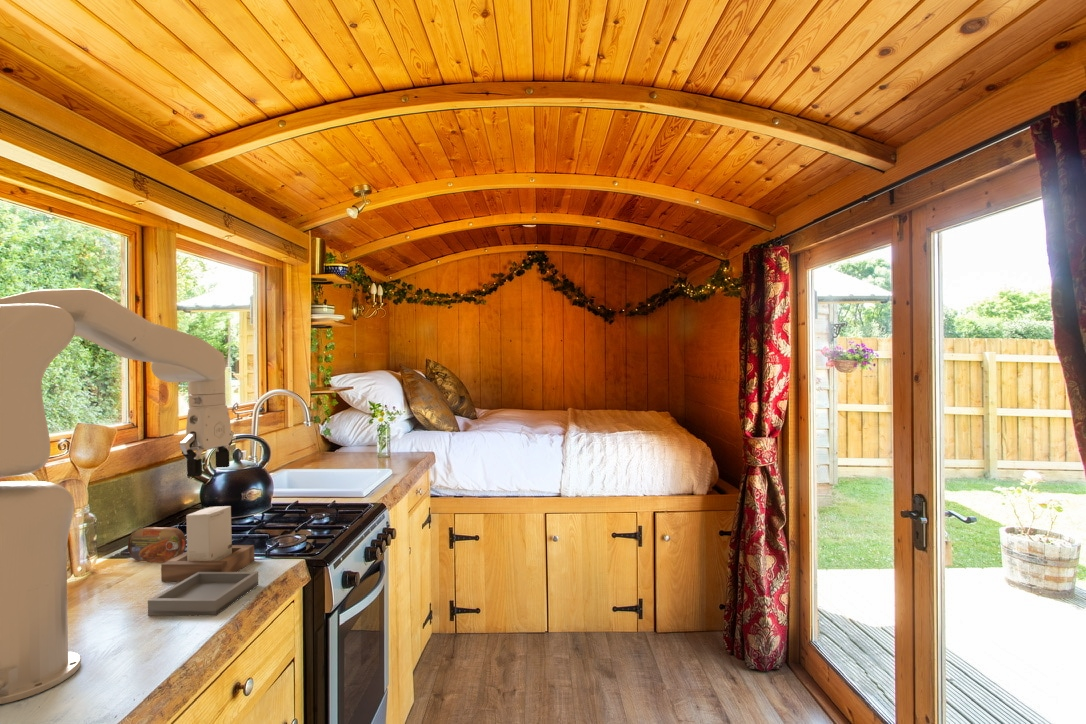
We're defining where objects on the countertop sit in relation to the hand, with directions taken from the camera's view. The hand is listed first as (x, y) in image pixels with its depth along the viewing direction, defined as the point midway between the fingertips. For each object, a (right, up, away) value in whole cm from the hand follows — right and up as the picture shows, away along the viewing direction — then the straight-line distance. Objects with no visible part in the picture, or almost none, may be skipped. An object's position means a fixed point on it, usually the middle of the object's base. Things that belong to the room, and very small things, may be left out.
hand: (209, 471), depth 124 cm
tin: (-18, -25, +7) cm, 32 cm away
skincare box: (0, -24, 0) cm, 24 cm away
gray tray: (+10, -24, -16) cm, 30 cm away
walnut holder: (0, -24, 0) cm, 24 cm away
